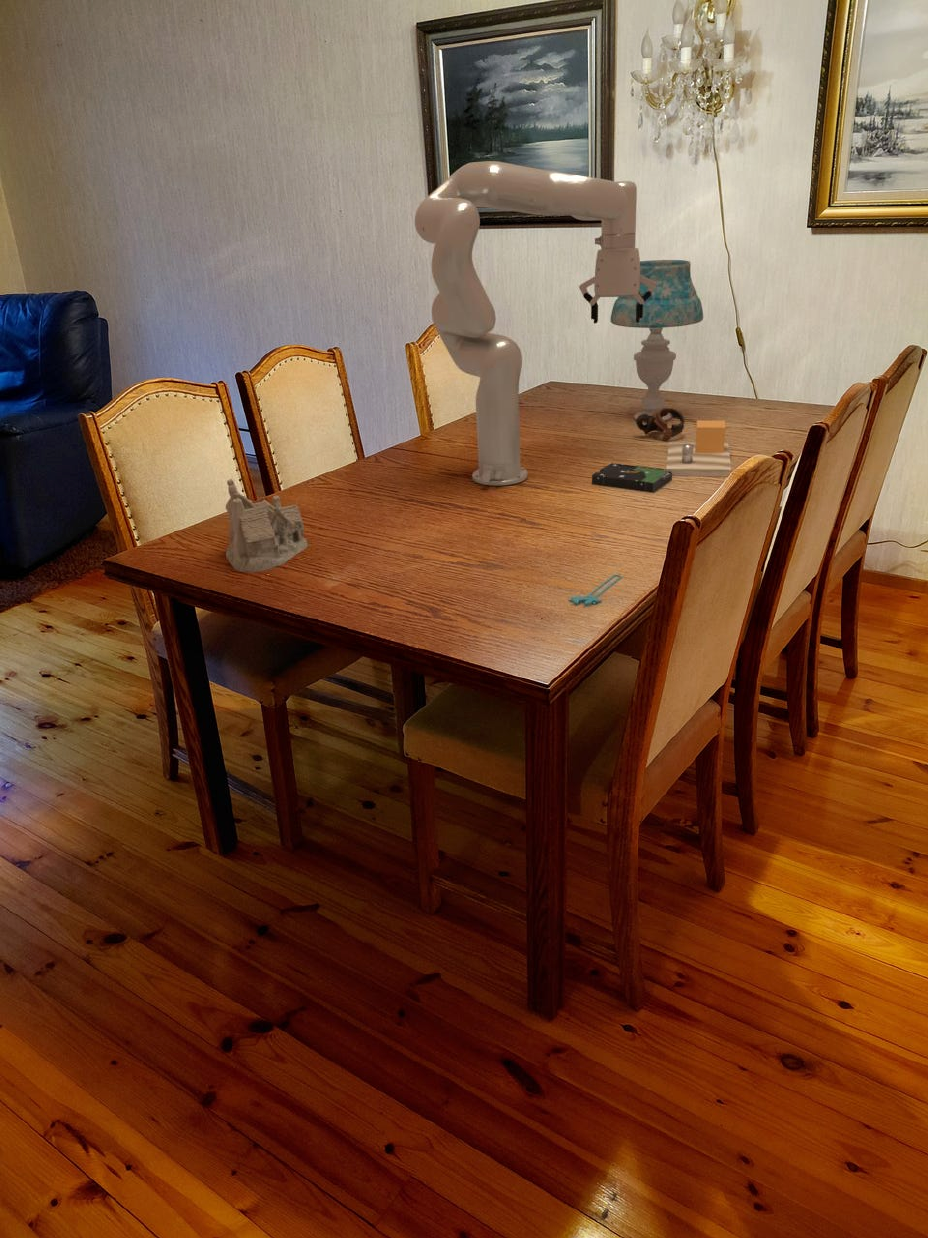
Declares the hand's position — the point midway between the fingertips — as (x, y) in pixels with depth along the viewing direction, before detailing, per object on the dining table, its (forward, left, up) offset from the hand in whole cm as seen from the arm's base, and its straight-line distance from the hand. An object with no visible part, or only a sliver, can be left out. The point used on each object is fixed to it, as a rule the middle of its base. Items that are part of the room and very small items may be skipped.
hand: (616, 322), depth 212 cm
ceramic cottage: (-74, +59, -31) cm, 99 cm away
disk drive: (-25, -6, -31) cm, 40 cm away
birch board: (-9, -20, -30) cm, 37 cm away
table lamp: (+32, -8, -31) cm, 45 cm away
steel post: (-14, -18, -29) cm, 37 cm away
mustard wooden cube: (-3, -23, -29) cm, 37 cm away
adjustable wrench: (-84, -4, -31) cm, 89 cm away
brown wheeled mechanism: (+13, -10, -31) cm, 35 cm away
